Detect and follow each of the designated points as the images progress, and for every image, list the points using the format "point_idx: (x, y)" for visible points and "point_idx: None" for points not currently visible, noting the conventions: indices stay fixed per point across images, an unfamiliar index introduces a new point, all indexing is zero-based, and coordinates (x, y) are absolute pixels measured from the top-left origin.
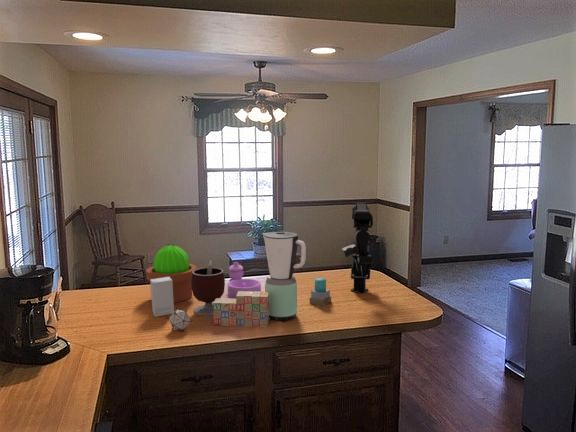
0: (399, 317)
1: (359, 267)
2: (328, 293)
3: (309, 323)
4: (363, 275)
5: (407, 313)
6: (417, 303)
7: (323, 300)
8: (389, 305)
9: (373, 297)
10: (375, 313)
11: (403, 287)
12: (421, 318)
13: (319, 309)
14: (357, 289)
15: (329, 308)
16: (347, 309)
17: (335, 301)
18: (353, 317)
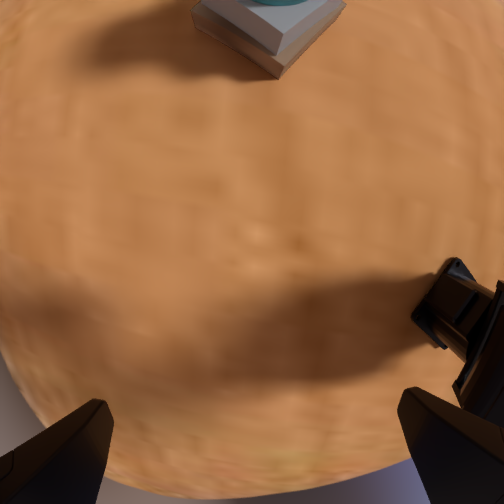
0: (47, 381)
1: (424, 441)
2: (264, 31)
3: (6, 12)
4: (83, 417)
5: None
6: (219, 479)
7: (191, 10)
8: (190, 403)
9: (332, 360)
10: (66, 308)
11: None
12: None
13: (142, 10)
14: (435, 295)
15: (147, 57)
16: (117, 163)
17: (284, 108)
18: (15, 185)
